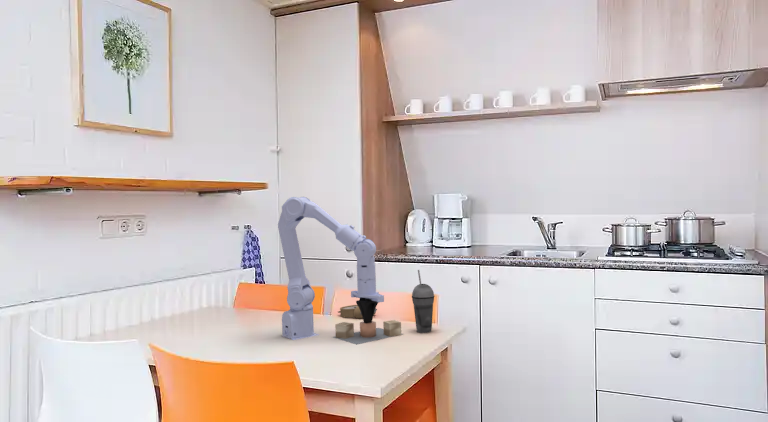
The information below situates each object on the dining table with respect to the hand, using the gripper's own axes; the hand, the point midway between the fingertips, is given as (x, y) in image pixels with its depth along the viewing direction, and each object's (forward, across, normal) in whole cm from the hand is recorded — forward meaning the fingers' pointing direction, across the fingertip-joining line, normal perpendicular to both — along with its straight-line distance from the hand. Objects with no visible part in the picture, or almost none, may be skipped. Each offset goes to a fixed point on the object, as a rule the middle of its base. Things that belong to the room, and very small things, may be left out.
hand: (367, 322), depth 183 cm
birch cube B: (+4, -4, -6) cm, 8 cm away
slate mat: (+4, 0, 0) cm, 4 cm away
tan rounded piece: (+4, 0, 0) cm, 4 cm away
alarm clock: (+5, +30, -18) cm, 35 cm away
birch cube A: (+4, +4, +6) cm, 8 cm away
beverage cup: (+5, -8, -16) cm, 19 cm away
